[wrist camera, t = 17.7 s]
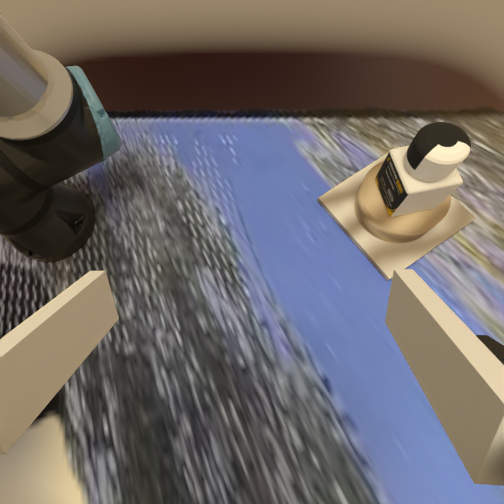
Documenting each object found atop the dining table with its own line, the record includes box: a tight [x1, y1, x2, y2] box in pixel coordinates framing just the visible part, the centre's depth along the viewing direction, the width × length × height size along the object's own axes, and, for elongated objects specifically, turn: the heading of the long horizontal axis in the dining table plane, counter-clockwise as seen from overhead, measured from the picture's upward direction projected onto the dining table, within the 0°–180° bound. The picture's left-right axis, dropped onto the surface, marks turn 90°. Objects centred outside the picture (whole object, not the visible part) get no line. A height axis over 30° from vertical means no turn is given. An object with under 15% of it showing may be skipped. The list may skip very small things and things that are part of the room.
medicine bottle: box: [375, 122, 471, 217], centre depth 38 cm, size 7×7×12 cm
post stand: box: [318, 147, 476, 281], centre depth 47 cm, size 18×18×6 cm
